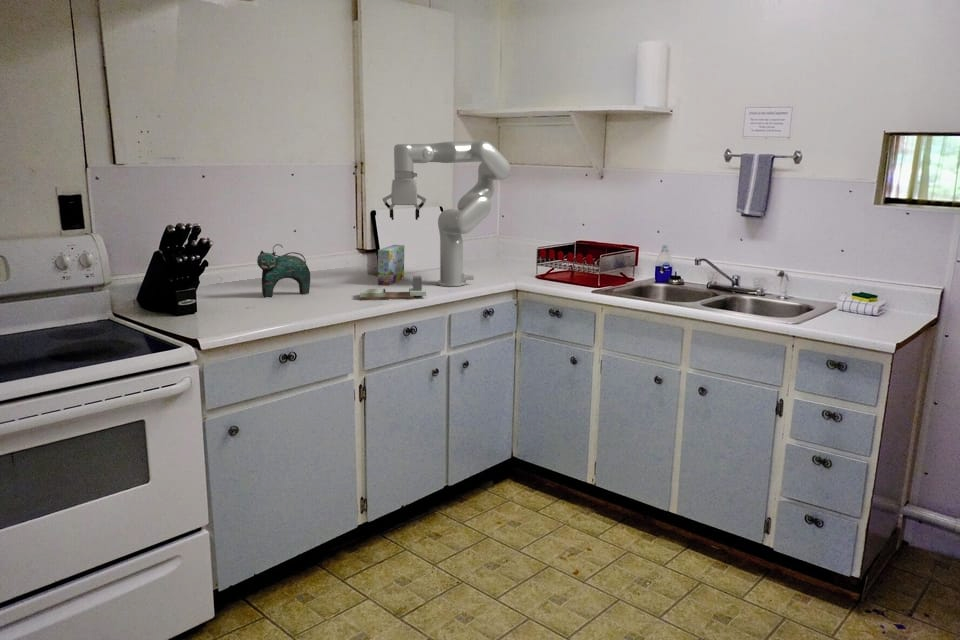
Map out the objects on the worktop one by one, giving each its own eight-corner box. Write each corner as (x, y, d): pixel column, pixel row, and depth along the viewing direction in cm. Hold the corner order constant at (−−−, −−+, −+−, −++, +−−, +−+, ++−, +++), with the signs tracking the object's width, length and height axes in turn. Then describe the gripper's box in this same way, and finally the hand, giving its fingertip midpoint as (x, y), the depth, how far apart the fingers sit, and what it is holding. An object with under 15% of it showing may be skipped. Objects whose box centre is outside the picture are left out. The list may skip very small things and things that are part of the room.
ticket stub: (424, 291, 287) (424, 275, 285) (426, 295, 278) (425, 278, 276) (409, 291, 286) (408, 275, 284) (410, 295, 277) (410, 278, 276)
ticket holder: (411, 294, 287) (411, 287, 286) (413, 299, 276) (413, 292, 276) (360, 295, 284) (360, 288, 284) (360, 300, 274) (359, 293, 273)
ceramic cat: (261, 298, 275) (258, 246, 270) (256, 296, 280) (253, 244, 276) (312, 294, 285) (310, 243, 280) (307, 291, 290) (305, 241, 286)
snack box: (390, 285, 306) (389, 250, 303) (377, 285, 307) (376, 249, 304) (405, 278, 326) (404, 244, 323) (393, 277, 327) (392, 244, 324)
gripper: (425, 176, 293) (425, 218, 297) (381, 175, 290) (382, 219, 294) (426, 176, 286) (426, 220, 289) (382, 176, 283) (383, 220, 287)
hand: (404, 219), depth 292 cm, fingers open, 9 cm apart
